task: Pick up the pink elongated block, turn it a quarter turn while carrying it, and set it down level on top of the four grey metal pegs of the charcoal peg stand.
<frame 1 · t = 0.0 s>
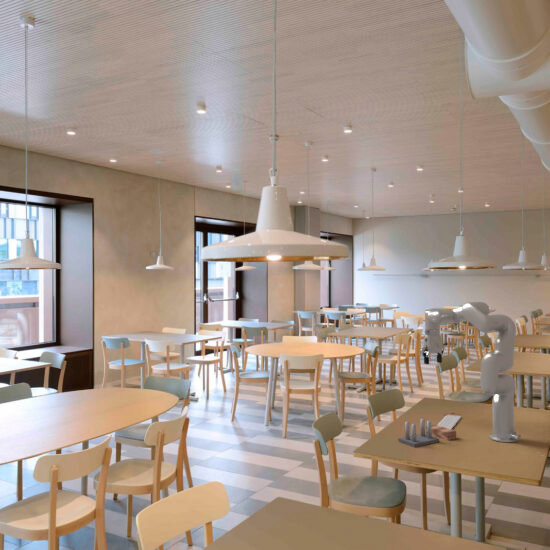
hand: (433, 363, 304), 31 cm above the table, tool pointing down, fingers open, 9 cm apart
pink elongated block: (441, 436, 272), on the table
peg stand: (418, 441, 263), on the table
baseboard: (446, 424, 296), on the table
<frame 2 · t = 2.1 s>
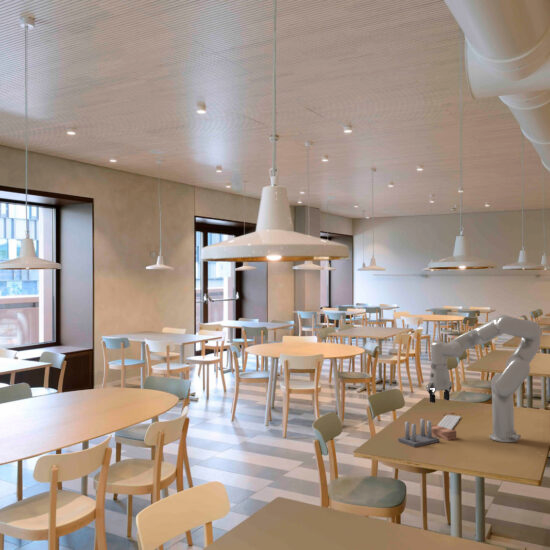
hand: (439, 401, 272), 17 cm above the table, tool pointing down, fingers open, 9 cm apart
nothing on the table moved.
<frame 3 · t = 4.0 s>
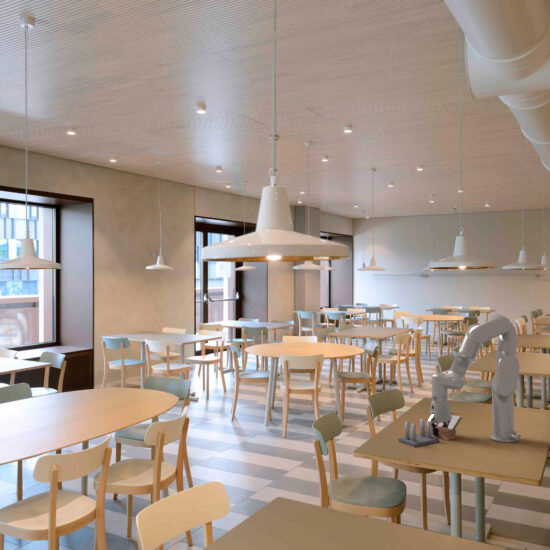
hand: (440, 434, 272), 1 cm above the table, tool pointing down, fingers closed on pink elongated block, 6 cm apart
pink elongated block: (440, 436, 272), on the table, touching gripper
everything else where it was.
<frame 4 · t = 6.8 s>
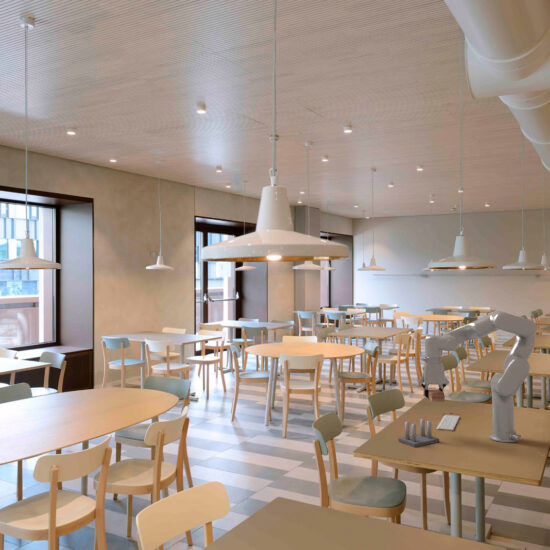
hand: (433, 396, 270), 20 cm above the table, tool pointing down, fingers closed on pink elongated block, 6 cm apart
pink elongated block: (433, 398, 270), point 19 cm above the table, touching gripper
everything else where it was.
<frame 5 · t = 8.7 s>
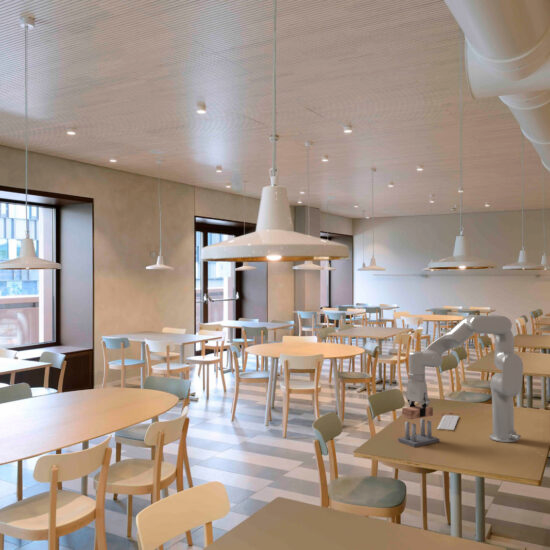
hand: (417, 414, 263), 13 cm above the table, tool pointing down, fingers closed on pink elongated block, 6 cm apart
pink elongated block: (417, 416, 263), point 12 cm above the table, touching gripper
everything else where it was.
when the fingers open (10 cm above the table, at t = 9.7 s): pink elongated block stays where it is, resting on peg stand.
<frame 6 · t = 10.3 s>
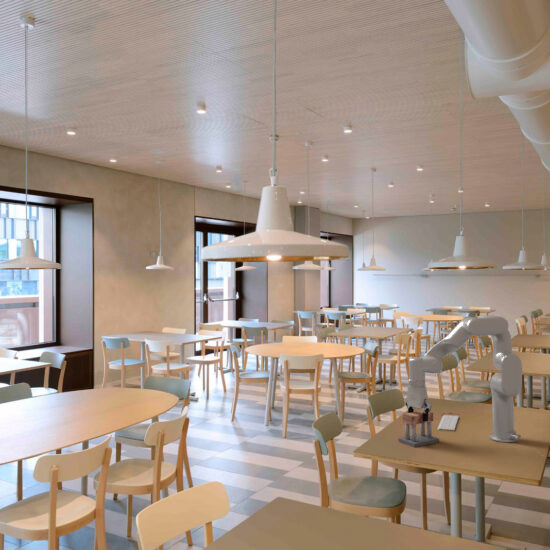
hand: (418, 419, 263), 11 cm above the table, tool pointing down, fingers open, 9 cm apart
pink elongated block: (418, 421, 263), point 9 cm above the table, touching peg stand
everything else where it was.
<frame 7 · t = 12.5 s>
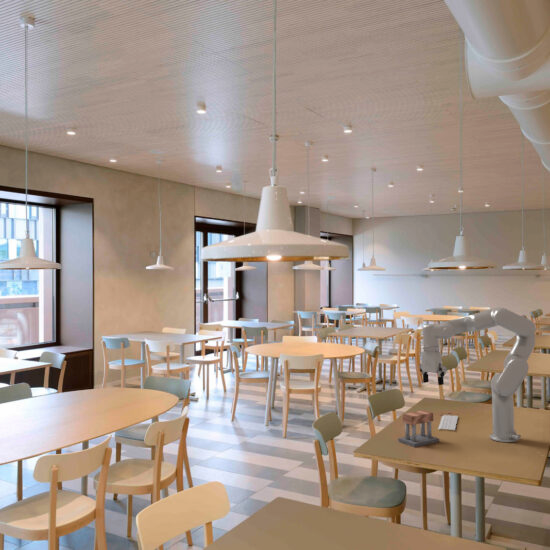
hand: (433, 383, 272), 26 cm above the table, tool pointing down, fingers open, 9 cm apart
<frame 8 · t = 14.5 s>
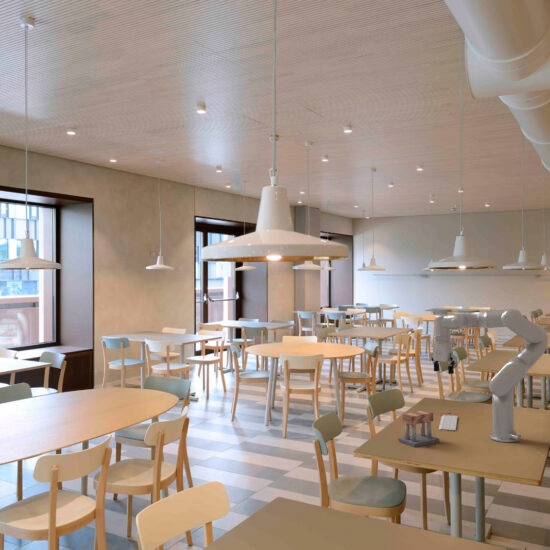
hand: (443, 372, 279), 30 cm above the table, tool pointing down, fingers open, 9 cm apart
at the end: pink elongated block 0.1 cm off-centre on the peg stand, point 9.5 cm above the peg stand's base; pink elongated block tilted 0°; pink elongated block touching peg stand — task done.
